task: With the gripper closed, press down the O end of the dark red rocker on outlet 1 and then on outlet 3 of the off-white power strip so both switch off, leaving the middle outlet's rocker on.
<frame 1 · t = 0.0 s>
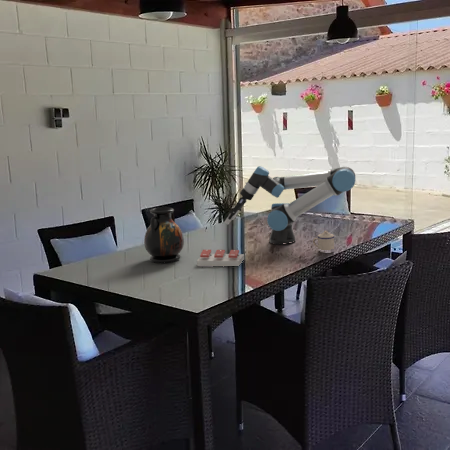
hand: (228, 221, 337), 15 cm above the table, tool tilted 35°, fingers open, 13 cm apart
power strip: (221, 262, 307), on the table
amphora vase: (165, 260, 318), on the table
rocker 2: (219, 254, 304), point 5 cm above the table, hinge at -14.0°
rocker 1: (234, 255, 302), point 5 cm above the table, hinge at -14.0°
rocker 3: (205, 254, 306), point 5 cm above the table, hinge at -14.0°
teacup with lid: (323, 251, 320), on the table
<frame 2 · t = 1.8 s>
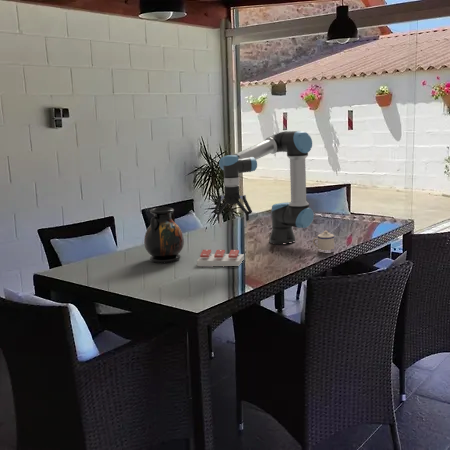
hand: (233, 227, 302), 19 cm above the table, tool pointing down, fingers open, 12 cm apart
nothing on the table moved.
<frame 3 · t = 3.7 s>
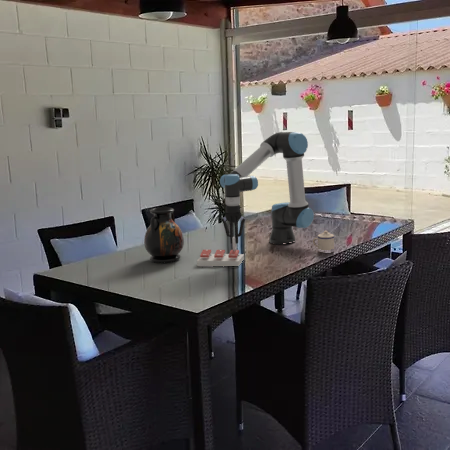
hand: (234, 249, 304), 7 cm above the table, tool pointing down, fingers closed
rocker 1: (234, 255, 302), point 5 cm above the table, hinge at -14.0°, touching gripper
everything else where it was.
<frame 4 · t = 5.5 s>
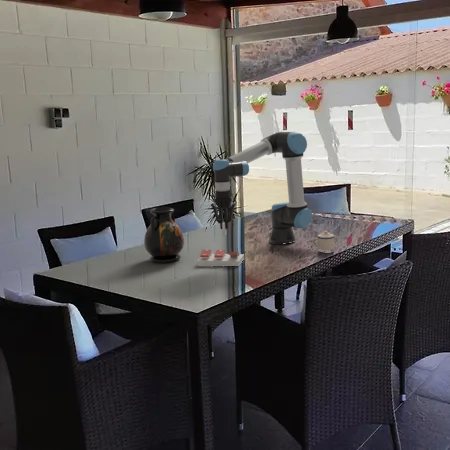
hand: (224, 235, 304), 15 cm above the table, tool pointing down, fingers closed
rocker 1: (233, 255, 302), point 5 cm above the table, hinge at 18.6°
everything else where it was.
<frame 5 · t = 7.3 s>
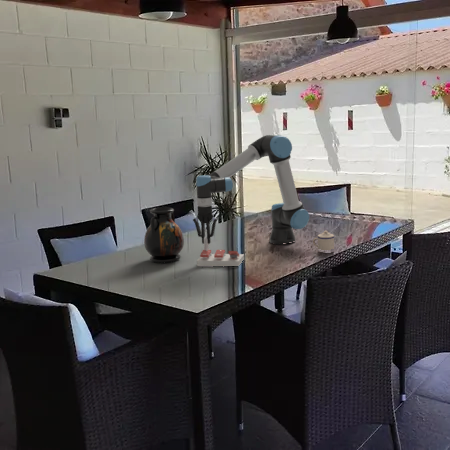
hand: (206, 249, 309), 7 cm above the table, tool pointing down, fingers closed, pressing on rocker 3
rocker 1: (233, 255, 302), point 5 cm above the table, hinge at 30.4°
rocker 3: (205, 254, 306), point 5 cm above the table, hinge at -11.0°, touching gripper
everything else where it was.
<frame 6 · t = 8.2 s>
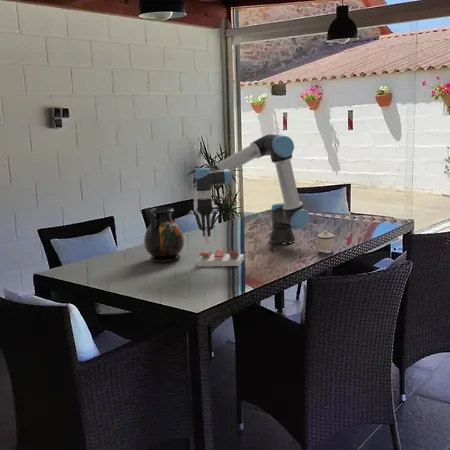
hand: (207, 242, 307), 11 cm above the table, tool pointing down, fingers closed
rocker 1: (233, 255, 302), point 5 cm above the table, hinge at 33.8°
rocker 3: (205, 254, 305), point 5 cm above the table, hinge at 5.2°
everything else where it was.
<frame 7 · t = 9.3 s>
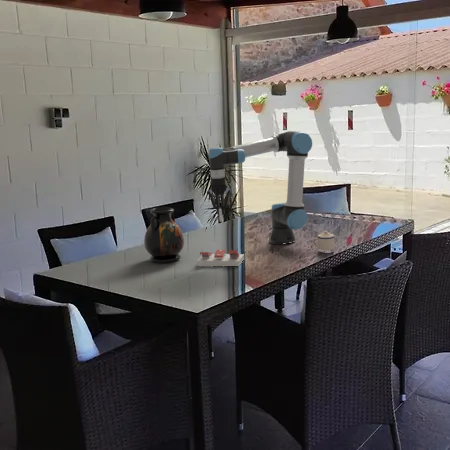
hand: (221, 220, 314), 20 cm above the table, tool pointing down, fingers closed
rocker 1: (233, 255, 302), point 5 cm above the table, hinge at 36.5°
rocker 3: (205, 254, 305), point 5 cm above the table, hinge at 15.4°
everything else where it was.
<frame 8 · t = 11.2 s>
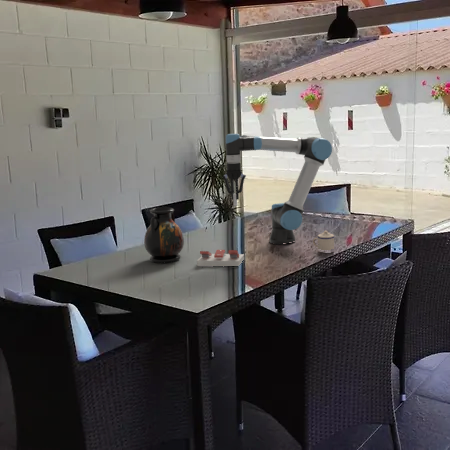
hand: (235, 205, 322), 26 cm above the table, tool pointing down, fingers closed
rocker 1: (233, 255, 302), point 5 cm above the table, hinge at 39.2°
rocker 3: (205, 254, 305), point 5 cm above the table, hinge at 25.2°
everything else where it was.
at the end: rocker 1 at +39° (first picture: -14°); rocker 3 at +26° (first picture: -14°); rocker 2 at -14° (first picture: -14°) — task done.
